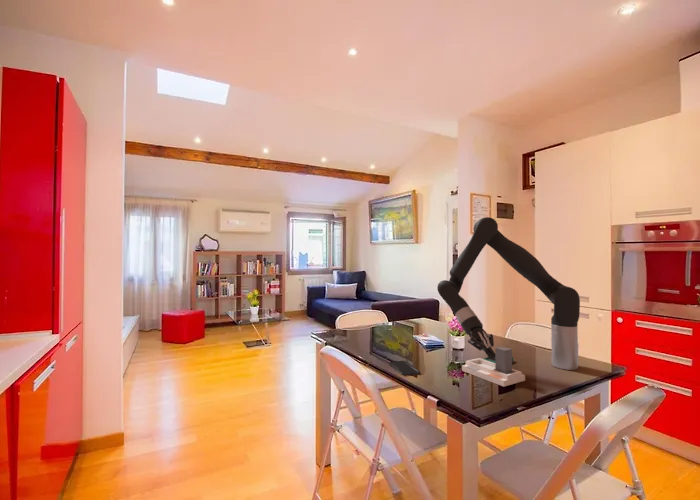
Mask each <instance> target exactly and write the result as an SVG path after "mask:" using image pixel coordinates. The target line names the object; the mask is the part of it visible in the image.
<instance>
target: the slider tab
mask: <svg viewBox="0 0 700 500" xmlns="http://www.w3.org/2000/svg"><path fill="white" fill-rule="evenodd" d="M494 350H495V351H494V353H495V364H496V369H494V370H496V371H498V372H501V373H504V374H510V373H514V371H512V369H513V362H512V357H513V349H512V348H510V347H506V346H498V347H495V349H494Z"/></svg>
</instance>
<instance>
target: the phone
mask: <svg viewBox="0 0 700 500" xmlns="http://www.w3.org/2000/svg"><path fill="white" fill-rule="evenodd" d="M388 365H389V366H390V367H391V368H392V367H393V369H394V370H395V371H396V372H397V373H398V372H399V373H398V374H399V375H401V376H402V375H403V377H406V376H405V375H408V376H418V375H420V374H421V371H420V370H419V369H417V368H416V367H415V366H413V365H412V364H411V363H409V362H408V361H406V360H397V361H390V362H388Z"/></svg>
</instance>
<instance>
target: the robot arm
mask: <svg viewBox="0 0 700 500" xmlns="http://www.w3.org/2000/svg"><path fill="white" fill-rule="evenodd" d="M486 245H487V246H488V247H490V248H491V249H493V250H494V252H496V253H497V254H498V255H499V256H500V257H501V258H502V259H503V260H504V261H505V262H506V263H507V264H508V265H509V266H510V267H512V268H513V270H515V271H516V272H517V273H518V274H520V275H521V276H522V277H523V278H525V280H527V281H528V282H530V283H531V284H532V285H534V286H535V287H537V289H539V290H540V292H541V293H543V295H545V297H546V298H547V299H548V300H549V302H551V304H553V315H552V316H551V325H550V326H551V329H550V331H551V333H550V335H551V337H550V338H551V365H552V366H553V367H555V368H557V369H561V370H568V371H569V370H571V371H572V370H573V371H574V370H578V368H579V342H578V341H579V340H578V338H579V337H578V334H579V332H578V325H579V324H578V322H579V319H580V314H581V313H580V311H581V310H580V307H581V304H580V303H581V300H580V295H579V293H578V291H577V290H576V289H575V288H573V287H570V286H566V285H564V284H562V283H561V282H560V281H558V280H557V279H556V278H554V277H553V276H552V275H550V273H549V272H548V271H547V270H546V268H545V267H544V266H543V265H542V263H541V262H540V261H539V260H538V259H537V258H536V256H535V255H533V254H532V253H531V252H529V251H528V250H527V249H525V248H524V247H523V246H522V245H519V244H517V243H516V242H513V241H512V240H511V239H509V238H507V237H506V236H505V235H504V234H502V232H500V231H499V226H498V223H497V221H496V220H495V219H494V218H492V217H488V216H486V217H485V216H484V217H482V218H480V219H478V220H477V222H475V223H474V225H473V234H472V236H471V238H470V239H469V242H468V243H467V245H465V247H464V249H463V250H462V252H461V253H460V254H459V256H458V257H457V259H456V260H455V262H454V263H453V265H452V267H451V269H450V270H449V276H450V278H449V280H446V279H445V280H441V281H439V283H437V292H438V294H439V296H440V297H441V298H442V299H443V301H444V302H445V303H446V304H447V306H448V307H449V308H450V309H451V311H452V313H453V314H454V316H455V318H456V320H457V322H458V323H459V325H460V327H461V328H462V330H463V331H464V333H465V334H466V335H468V337H469V339H467V342H468V344H470V345H471V346H473V347H474V348H476V349H477V350H478V351H480V352H481V351H483V352H485V354H486V356H487V357H489V358H490V359H491V360H492V359H495V351H494V350H493V348H492V347H494V346H495V344H494V343H495V341H494V334H492V333H490V334H488V333H487V331H486V330H485V329H484V328H483V326H484V325H483V322H481V320H480V319H479V317H478V316H477V315H476V313H475V311H474V310H473V309H472V308H471V307H470V305H469V304H468V303H467V301H466V299H464V297H463V296H461V295H460V294H459V293H460V291H462V287H463V284H464V280H465V279H466V277H467V275H468V273H470V270H471V269H472V267H473V266H474V264H475V262H476V261H477V258H478V257H479V255H480V254H481V252H482V251H483V249H484V248H485V246H486Z"/></svg>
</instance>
